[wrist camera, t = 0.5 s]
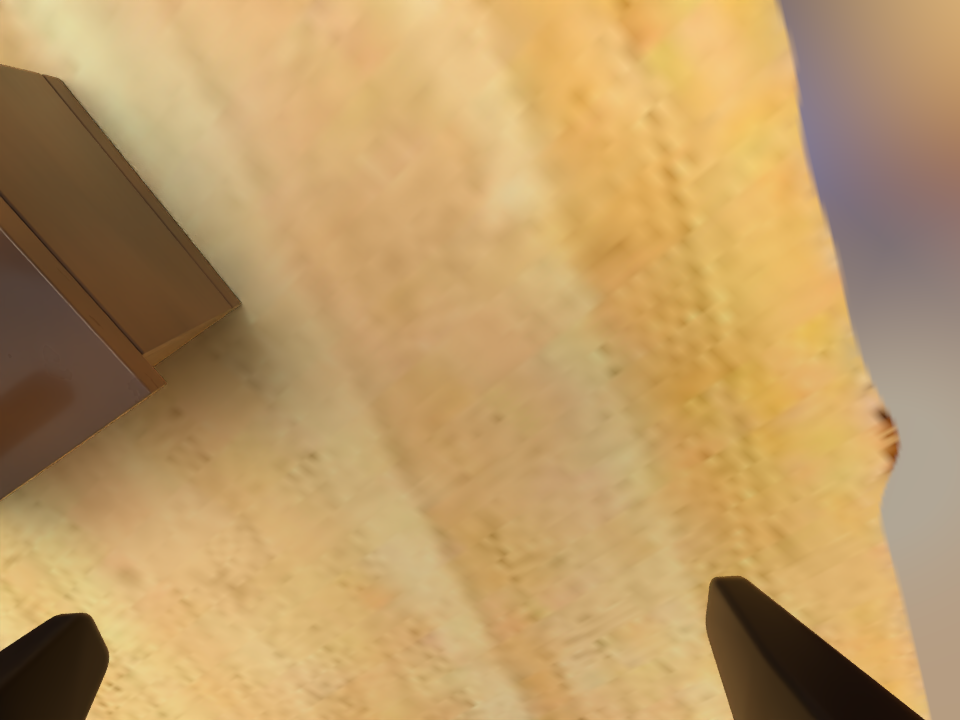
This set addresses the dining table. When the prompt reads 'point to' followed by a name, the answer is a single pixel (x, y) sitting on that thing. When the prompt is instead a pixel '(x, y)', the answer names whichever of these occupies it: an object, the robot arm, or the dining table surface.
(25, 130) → the brown wooden box
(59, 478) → the dining table surface
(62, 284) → the brown box lid
